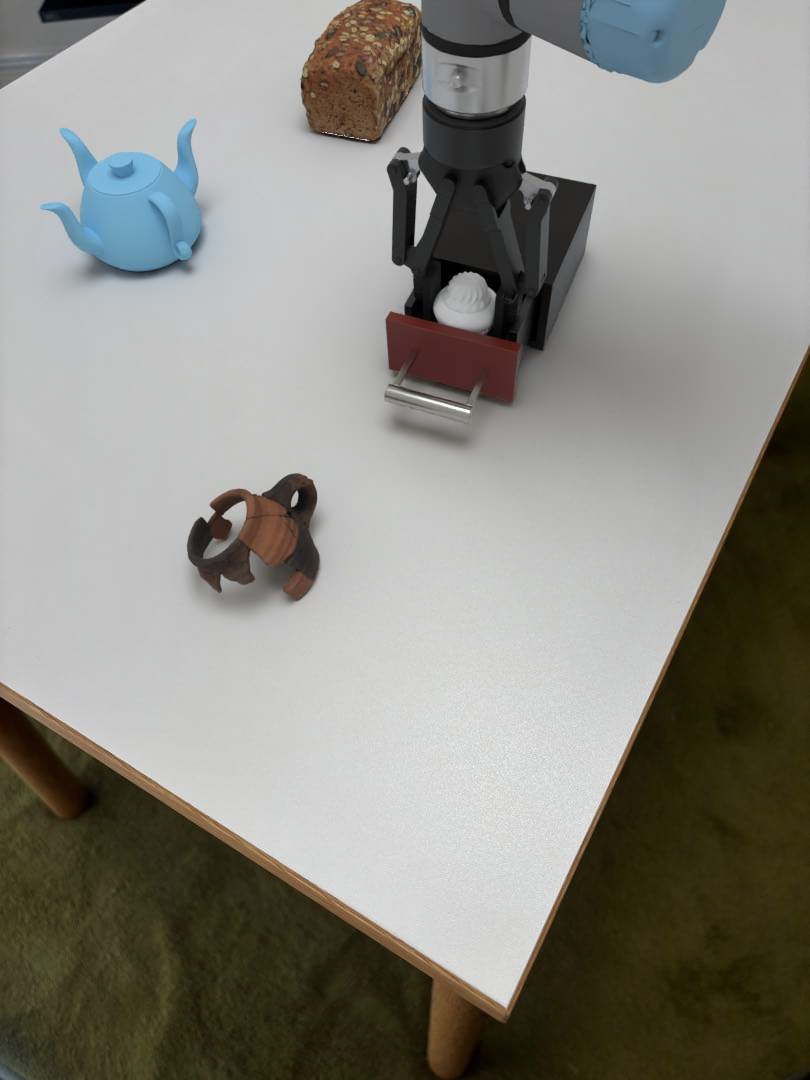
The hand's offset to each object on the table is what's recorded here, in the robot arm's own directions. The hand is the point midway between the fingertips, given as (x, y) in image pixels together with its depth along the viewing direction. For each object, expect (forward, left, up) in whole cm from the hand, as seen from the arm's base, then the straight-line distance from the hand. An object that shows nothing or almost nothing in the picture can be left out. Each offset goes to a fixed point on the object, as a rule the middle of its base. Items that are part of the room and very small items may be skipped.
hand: (465, 333), depth 78 cm
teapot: (+41, -6, -4) cm, 42 cm away
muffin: (0, 0, -1) cm, 1 cm away
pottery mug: (+8, +27, -4) cm, 28 cm away
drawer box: (0, -12, -4) cm, 13 cm away
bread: (+28, -40, -4) cm, 49 cm away
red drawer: (0, 0, -3) cm, 3 cm away
